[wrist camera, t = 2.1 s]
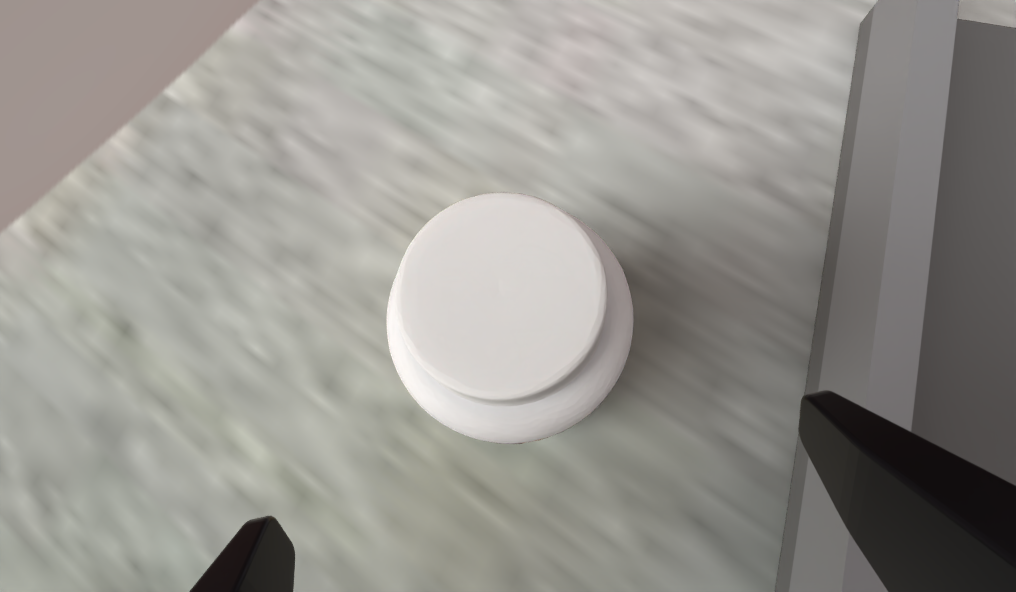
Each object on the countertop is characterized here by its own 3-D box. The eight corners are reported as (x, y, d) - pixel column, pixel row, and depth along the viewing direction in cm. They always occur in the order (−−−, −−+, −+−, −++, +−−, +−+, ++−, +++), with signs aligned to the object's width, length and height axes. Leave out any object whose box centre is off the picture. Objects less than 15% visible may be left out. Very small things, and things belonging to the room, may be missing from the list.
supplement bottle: (443, 439, 20) (338, 448, 10) (446, 283, 21) (356, 154, 11) (606, 439, 20) (663, 448, 10) (600, 280, 21) (645, 144, 11)
